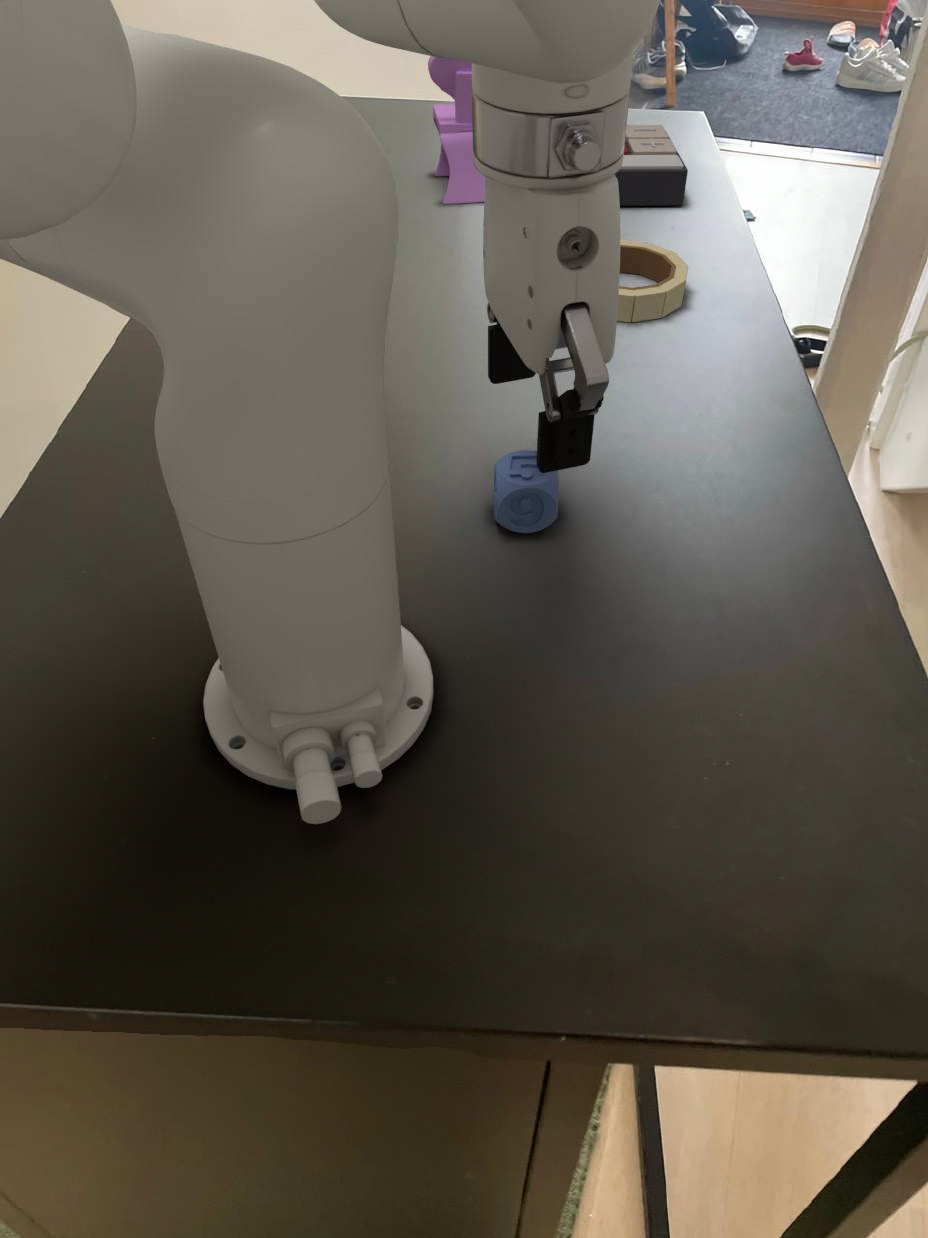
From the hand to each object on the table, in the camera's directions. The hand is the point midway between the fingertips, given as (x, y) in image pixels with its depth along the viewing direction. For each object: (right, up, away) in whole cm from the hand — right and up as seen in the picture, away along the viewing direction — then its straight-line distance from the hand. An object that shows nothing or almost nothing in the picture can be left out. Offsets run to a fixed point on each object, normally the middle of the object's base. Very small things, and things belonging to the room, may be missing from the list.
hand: (536, 419), depth 57 cm
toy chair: (-4, +36, +45) cm, 57 cm away
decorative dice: (0, -6, +5) cm, 7 cm away
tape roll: (+10, +18, +27) cm, 34 cm away
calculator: (+13, +37, +46) cm, 60 cm away
